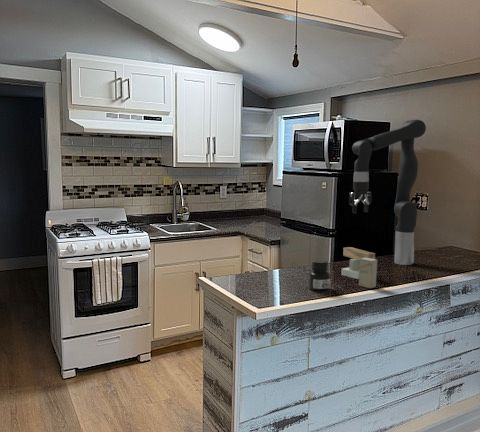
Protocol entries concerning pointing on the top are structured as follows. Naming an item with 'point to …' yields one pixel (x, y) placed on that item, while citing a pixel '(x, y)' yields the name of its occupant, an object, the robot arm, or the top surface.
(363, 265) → the skincare box
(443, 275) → the top surface
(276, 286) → the top surface
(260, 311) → the top surface
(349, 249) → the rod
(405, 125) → the robot arm
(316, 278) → the ink bottle
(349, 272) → the fulcrum
